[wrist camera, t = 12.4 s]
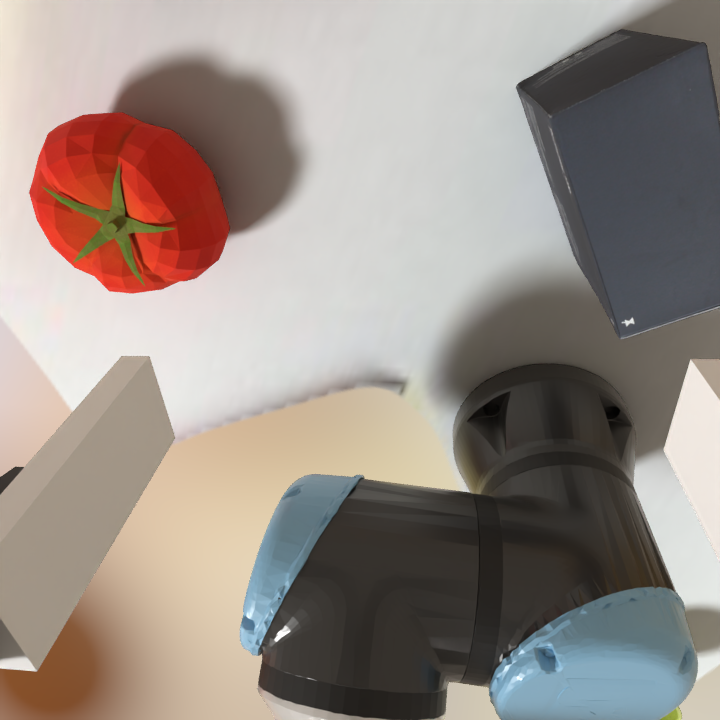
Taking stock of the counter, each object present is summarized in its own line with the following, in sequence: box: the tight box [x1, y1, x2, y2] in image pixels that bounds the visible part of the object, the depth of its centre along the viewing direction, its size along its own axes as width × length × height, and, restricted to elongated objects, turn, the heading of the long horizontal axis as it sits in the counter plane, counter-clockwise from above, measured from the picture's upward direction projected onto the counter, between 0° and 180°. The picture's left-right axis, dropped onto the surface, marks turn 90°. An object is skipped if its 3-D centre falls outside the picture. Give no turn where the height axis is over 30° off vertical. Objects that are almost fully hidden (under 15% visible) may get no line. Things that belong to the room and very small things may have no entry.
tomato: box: [29, 112, 230, 293], centre depth 38 cm, size 13×12×8 cm
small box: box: [516, 30, 720, 339], centre depth 32 cm, size 13×7×12 cm, turn 28°
